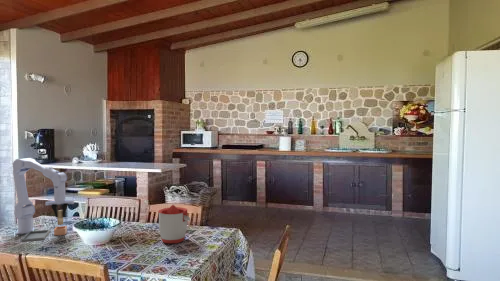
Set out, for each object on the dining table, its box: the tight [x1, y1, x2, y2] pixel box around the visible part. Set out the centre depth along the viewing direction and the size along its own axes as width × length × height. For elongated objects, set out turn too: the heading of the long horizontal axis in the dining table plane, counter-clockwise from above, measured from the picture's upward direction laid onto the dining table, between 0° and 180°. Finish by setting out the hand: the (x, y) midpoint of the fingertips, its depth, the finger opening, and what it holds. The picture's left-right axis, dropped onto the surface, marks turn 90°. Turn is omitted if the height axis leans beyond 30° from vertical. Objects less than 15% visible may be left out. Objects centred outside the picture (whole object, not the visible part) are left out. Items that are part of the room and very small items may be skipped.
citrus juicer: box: [157, 204, 191, 244], centre depth 199 cm, size 16×17×20 cm
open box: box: [53, 225, 68, 236], centre depth 210 cm, size 6×6×4 cm
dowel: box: [56, 209, 64, 226], centre depth 210 cm, size 3×3×8 cm
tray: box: [20, 229, 51, 243], centre depth 205 cm, size 16×11×2 cm
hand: (60, 216), depth 210 cm, fingers closed on dowel, 3 cm apart
